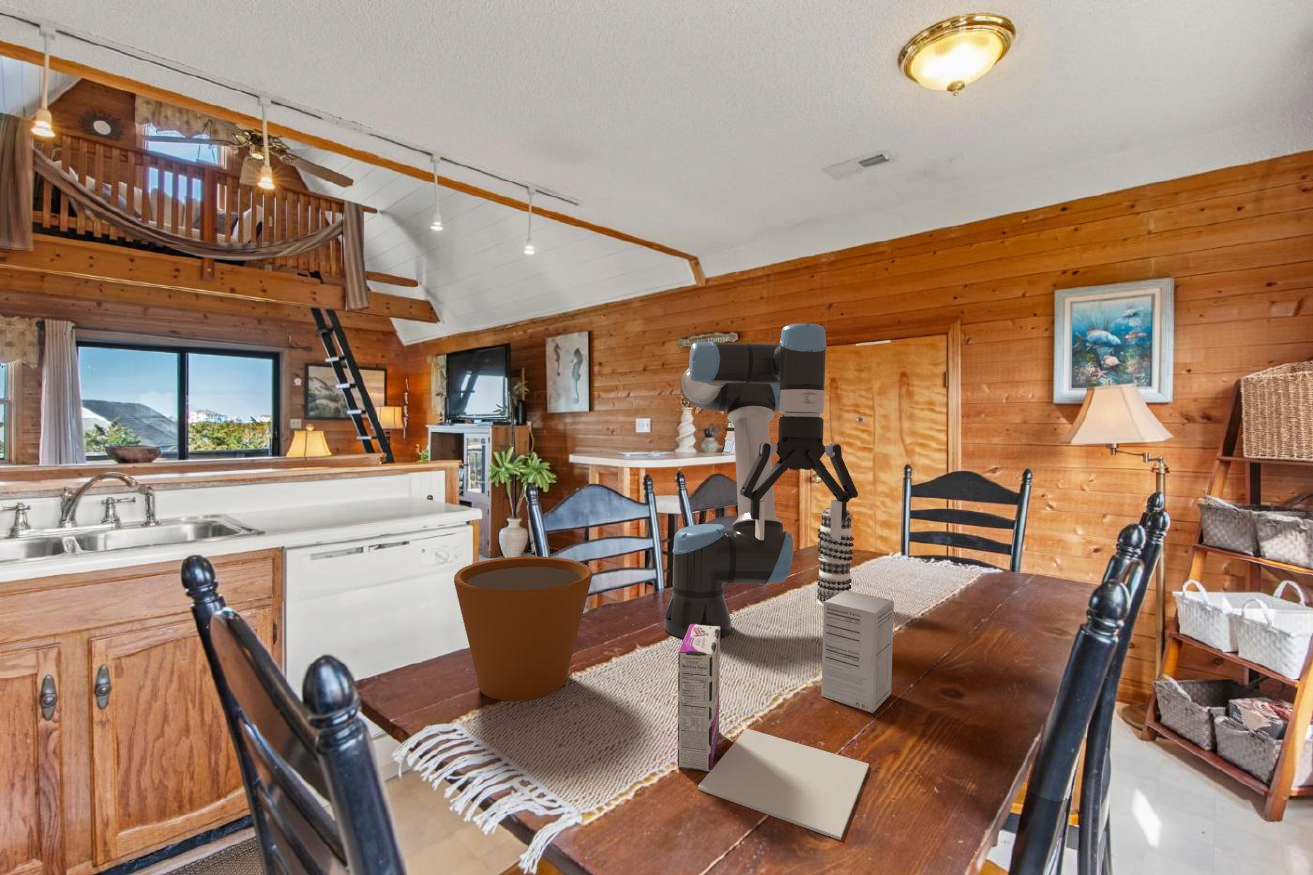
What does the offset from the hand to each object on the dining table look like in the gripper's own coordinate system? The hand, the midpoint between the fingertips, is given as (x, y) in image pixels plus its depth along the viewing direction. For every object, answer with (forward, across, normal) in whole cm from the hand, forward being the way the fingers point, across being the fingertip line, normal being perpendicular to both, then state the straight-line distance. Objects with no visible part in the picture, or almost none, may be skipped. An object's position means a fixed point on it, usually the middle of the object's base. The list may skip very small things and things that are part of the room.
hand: (797, 538), depth 104 cm
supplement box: (+28, +11, -1) cm, 30 cm away
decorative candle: (+27, +28, +49) cm, 63 cm away
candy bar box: (+28, -20, -16) cm, 37 cm away
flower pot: (+28, -47, +8) cm, 55 cm away
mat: (+27, -9, -24) cm, 37 cm away
